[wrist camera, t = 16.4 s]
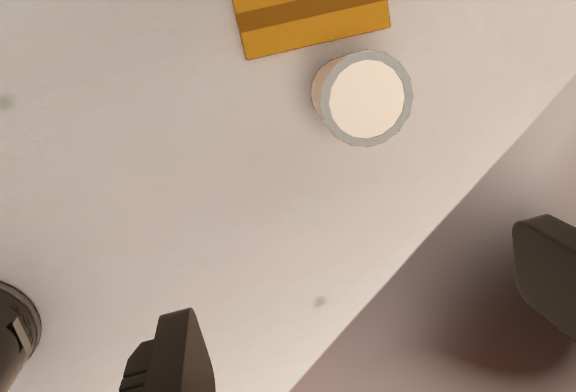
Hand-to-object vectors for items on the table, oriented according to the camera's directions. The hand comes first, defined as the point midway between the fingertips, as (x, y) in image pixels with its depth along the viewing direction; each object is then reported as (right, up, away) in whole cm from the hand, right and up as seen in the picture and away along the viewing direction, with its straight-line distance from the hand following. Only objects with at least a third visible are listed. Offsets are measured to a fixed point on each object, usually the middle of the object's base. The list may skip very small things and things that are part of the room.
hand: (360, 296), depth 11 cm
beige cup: (+3, +11, +29) cm, 31 cm away
